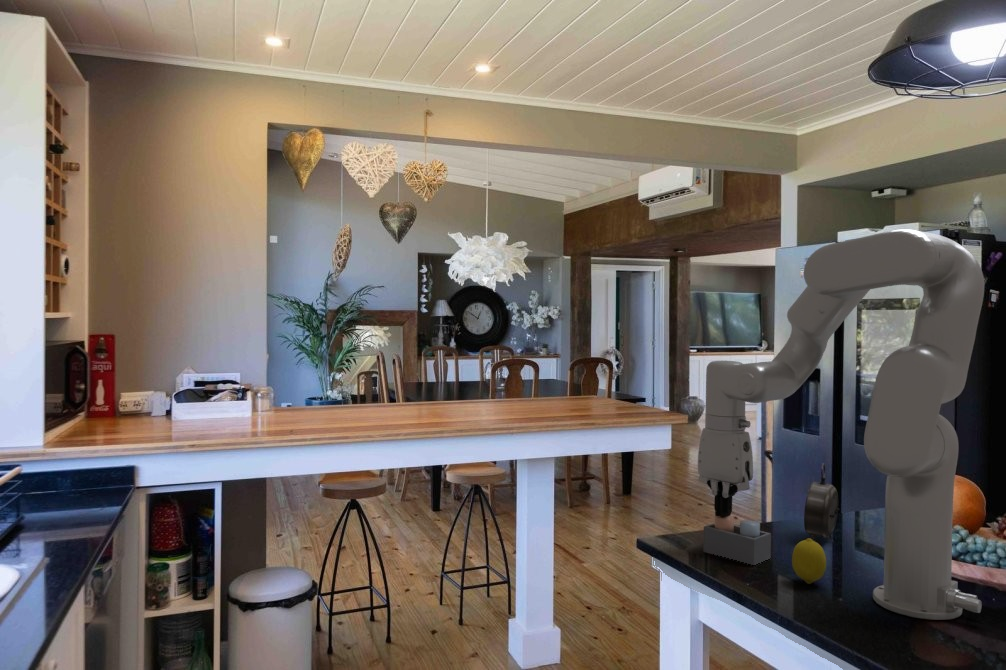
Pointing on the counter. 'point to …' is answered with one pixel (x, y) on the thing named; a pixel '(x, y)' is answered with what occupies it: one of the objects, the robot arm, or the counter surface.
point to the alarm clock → (821, 509)
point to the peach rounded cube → (725, 523)
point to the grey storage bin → (737, 545)
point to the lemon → (809, 560)
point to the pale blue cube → (750, 528)
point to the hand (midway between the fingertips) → (723, 515)
